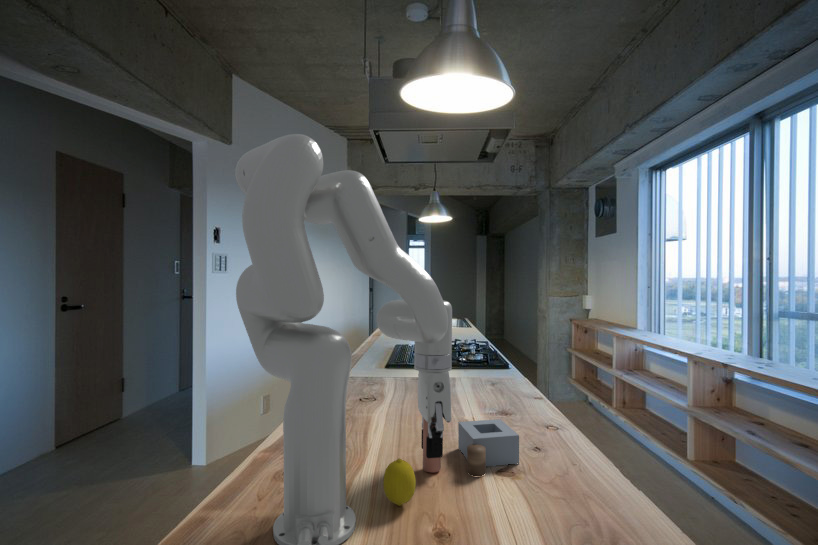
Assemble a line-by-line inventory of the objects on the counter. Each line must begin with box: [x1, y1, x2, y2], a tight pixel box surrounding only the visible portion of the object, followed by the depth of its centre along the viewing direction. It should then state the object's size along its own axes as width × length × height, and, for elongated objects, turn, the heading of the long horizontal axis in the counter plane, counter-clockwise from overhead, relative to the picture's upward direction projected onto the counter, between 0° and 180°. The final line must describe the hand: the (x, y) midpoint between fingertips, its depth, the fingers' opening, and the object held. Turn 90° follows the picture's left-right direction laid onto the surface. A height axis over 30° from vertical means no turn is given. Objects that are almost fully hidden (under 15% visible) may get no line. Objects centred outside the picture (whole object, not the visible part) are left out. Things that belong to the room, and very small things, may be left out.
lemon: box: [382, 458, 417, 507], centre depth 75 cm, size 6×6×8 cm
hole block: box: [457, 418, 520, 467], centre depth 95 cm, size 10×10×6 cm
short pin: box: [466, 444, 487, 476], centre depth 87 cm, size 4×4×5 cm
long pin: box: [422, 418, 442, 473], centre depth 88 cm, size 4×4×11 cm
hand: (431, 451), depth 88 cm, fingers closed on long pin, 3 cm apart
